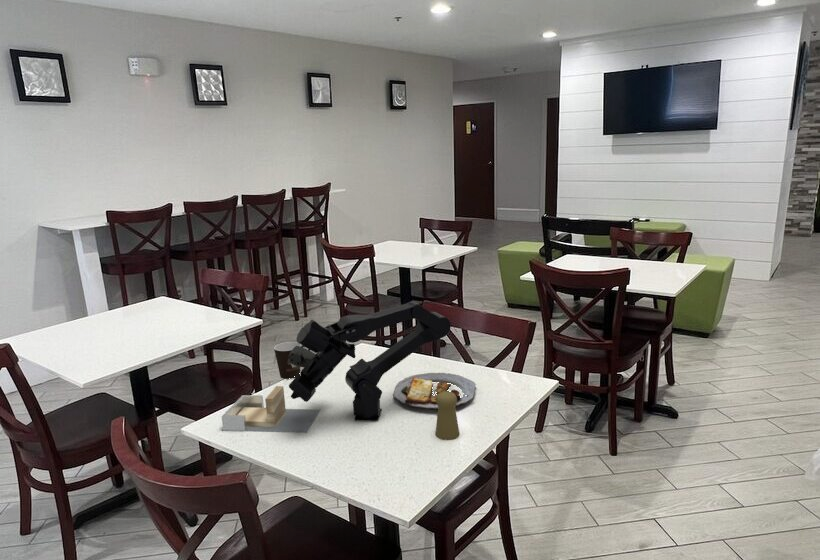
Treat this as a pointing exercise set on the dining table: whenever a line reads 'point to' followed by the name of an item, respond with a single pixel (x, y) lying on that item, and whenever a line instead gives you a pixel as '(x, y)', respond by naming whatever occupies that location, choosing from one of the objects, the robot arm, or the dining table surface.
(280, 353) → the coffee mug
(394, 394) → the food plate
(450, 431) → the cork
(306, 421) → the rubber mat
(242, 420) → the frame
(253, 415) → the menu stand
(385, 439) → the dining table surface
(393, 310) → the robot arm
